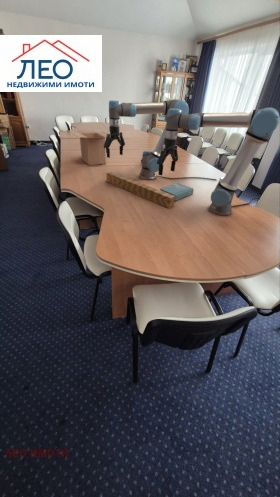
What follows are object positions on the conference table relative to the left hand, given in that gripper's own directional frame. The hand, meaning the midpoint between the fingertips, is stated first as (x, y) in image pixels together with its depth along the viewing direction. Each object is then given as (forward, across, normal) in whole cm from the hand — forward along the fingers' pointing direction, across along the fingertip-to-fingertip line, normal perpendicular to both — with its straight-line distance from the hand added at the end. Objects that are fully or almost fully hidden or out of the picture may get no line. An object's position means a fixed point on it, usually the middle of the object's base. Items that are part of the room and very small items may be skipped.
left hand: (114, 156), depth 175 cm
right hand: (0, 0, -51) cm, 51 cm away
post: (+22, 0, -25) cm, 34 cm away
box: (+22, +26, +63) cm, 72 cm away
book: (+23, +21, -48) cm, 57 cm away
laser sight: (+23, +68, +17) cm, 74 cm away
